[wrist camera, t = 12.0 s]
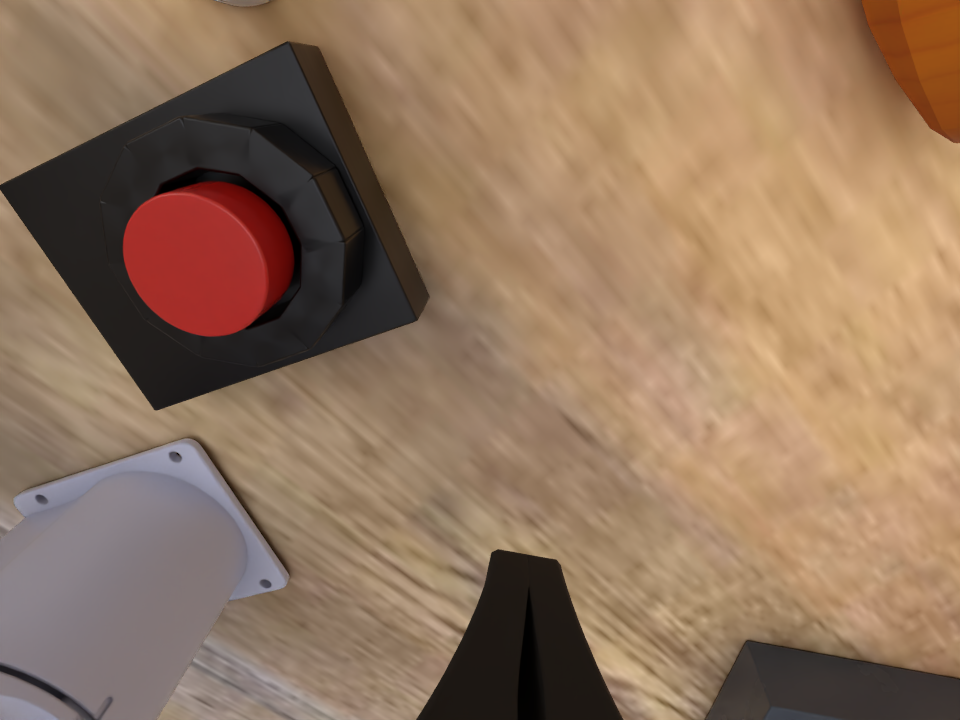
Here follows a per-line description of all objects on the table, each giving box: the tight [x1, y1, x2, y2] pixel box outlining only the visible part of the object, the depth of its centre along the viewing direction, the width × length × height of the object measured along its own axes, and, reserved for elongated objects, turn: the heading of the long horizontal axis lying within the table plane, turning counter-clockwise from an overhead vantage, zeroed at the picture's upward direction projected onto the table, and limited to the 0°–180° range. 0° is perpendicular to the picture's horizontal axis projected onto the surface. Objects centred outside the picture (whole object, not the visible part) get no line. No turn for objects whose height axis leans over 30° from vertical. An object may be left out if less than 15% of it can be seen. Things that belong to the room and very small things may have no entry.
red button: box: [123, 181, 294, 336], centre depth 15 cm, size 4×4×2 cm
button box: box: [0, 41, 429, 410], centre depth 17 cm, size 10×8×4 cm
